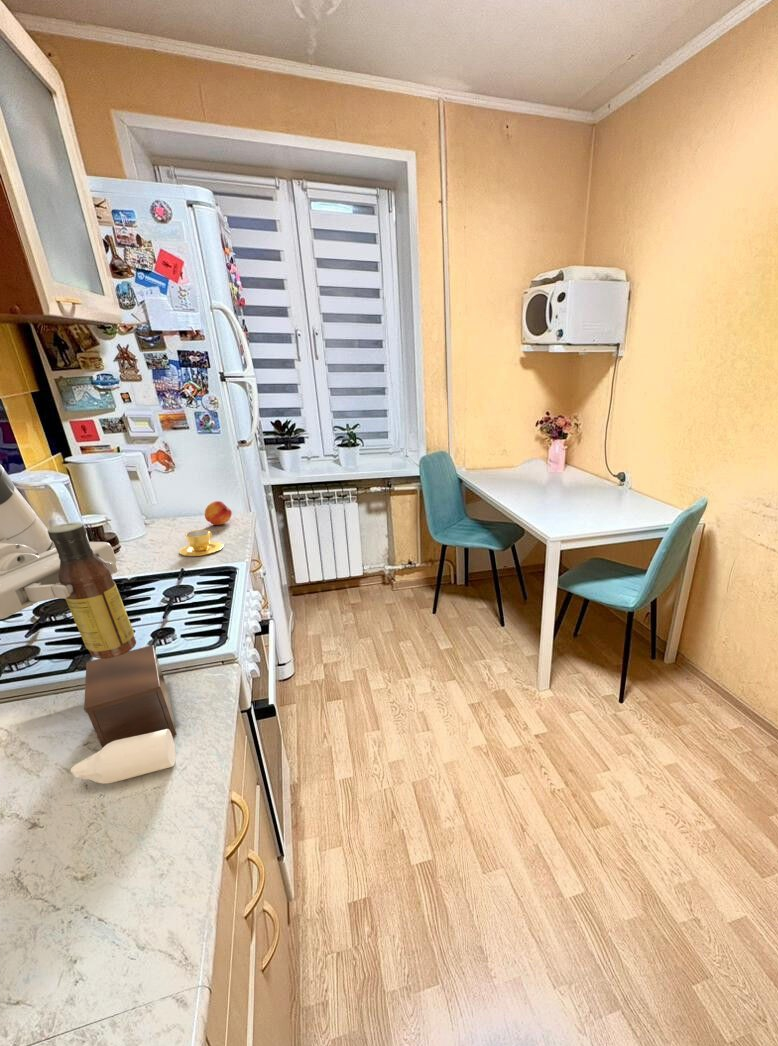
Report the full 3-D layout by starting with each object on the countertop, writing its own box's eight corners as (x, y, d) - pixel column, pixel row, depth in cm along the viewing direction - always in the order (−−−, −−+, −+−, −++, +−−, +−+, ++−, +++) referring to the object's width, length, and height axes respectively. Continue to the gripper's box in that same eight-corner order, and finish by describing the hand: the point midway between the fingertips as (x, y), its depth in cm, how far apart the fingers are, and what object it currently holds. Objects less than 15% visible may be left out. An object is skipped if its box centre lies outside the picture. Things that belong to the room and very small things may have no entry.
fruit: (229, 527, 176) (224, 504, 172) (204, 528, 175) (198, 505, 171) (235, 520, 183) (230, 498, 179) (211, 521, 182) (206, 499, 178)
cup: (204, 559, 150) (199, 541, 147) (170, 555, 153) (165, 538, 150) (232, 545, 160) (228, 528, 158) (199, 541, 163) (195, 525, 161)
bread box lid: (161, 690, 77) (160, 686, 77) (85, 713, 73) (83, 708, 72) (154, 648, 88) (153, 644, 88) (87, 666, 83) (86, 661, 83)
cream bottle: (84, 772, 75) (70, 742, 73) (177, 748, 79) (167, 719, 77) (74, 802, 70) (59, 771, 68) (174, 774, 75) (163, 744, 72)
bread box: (176, 735, 82) (161, 688, 78) (106, 759, 77) (85, 710, 73) (168, 692, 92) (154, 649, 88) (106, 711, 88) (88, 666, 84)
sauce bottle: (124, 636, 82) (84, 516, 74) (146, 646, 80) (107, 522, 71) (78, 654, 77) (30, 528, 69) (100, 666, 74) (52, 535, 66)
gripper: (75, 566, 86) (150, 570, 84) (-57, 626, 67) (35, 634, 66) (62, 529, 83) (139, 534, 81) (-80, 582, 65) (15, 589, 63)
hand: (91, 579), depth 73 cm, fingers closed on sauce bottle, 6 cm apart
